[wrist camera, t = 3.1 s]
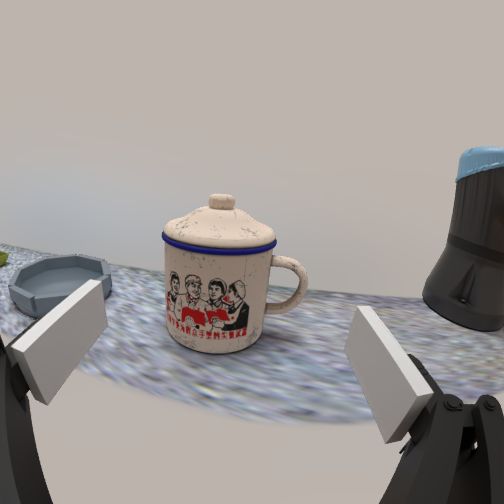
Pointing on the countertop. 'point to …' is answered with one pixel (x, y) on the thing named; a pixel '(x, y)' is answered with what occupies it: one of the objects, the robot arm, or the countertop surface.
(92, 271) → the ashtray
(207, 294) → the teacup with lid
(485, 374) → the countertop surface
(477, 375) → the countertop surface
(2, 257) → the green shallow square dish
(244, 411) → the countertop surface
